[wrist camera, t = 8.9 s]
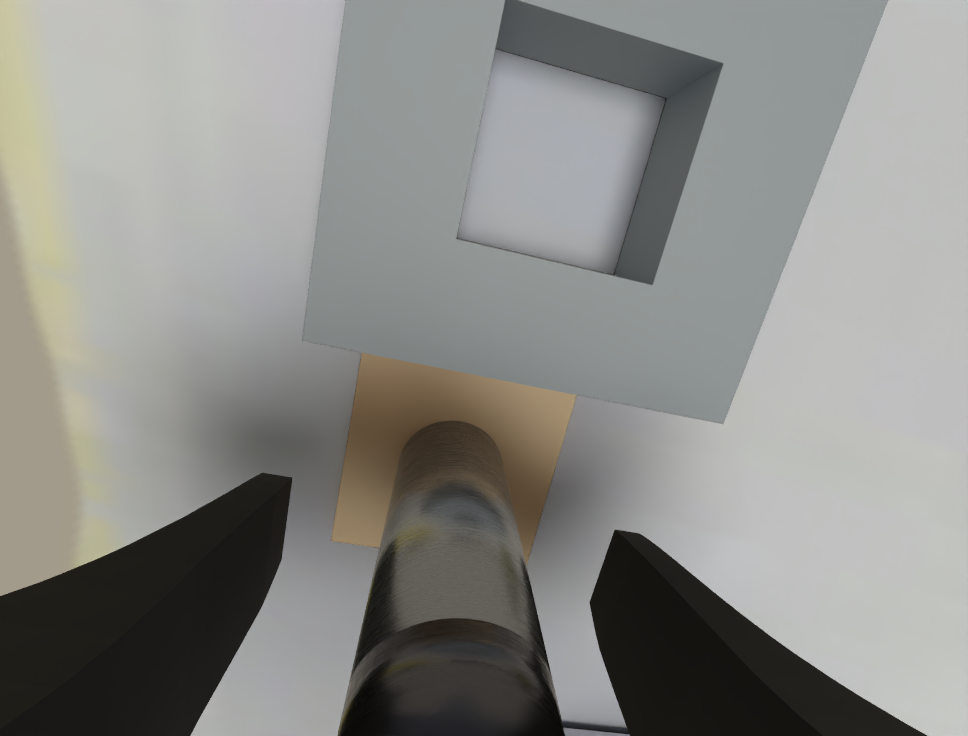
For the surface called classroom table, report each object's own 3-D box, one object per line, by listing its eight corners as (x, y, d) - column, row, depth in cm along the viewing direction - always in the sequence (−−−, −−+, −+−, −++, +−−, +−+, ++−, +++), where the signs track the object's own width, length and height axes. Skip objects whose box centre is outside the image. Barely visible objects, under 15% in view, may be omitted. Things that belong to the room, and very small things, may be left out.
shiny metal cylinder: (499, 513, 14) (558, 852, 6) (398, 514, 14) (333, 866, 6) (505, 421, 13) (581, 681, 6) (398, 419, 13) (322, 690, 5)
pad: (523, 560, 15) (525, 569, 15) (334, 532, 14) (331, 541, 14) (574, 387, 14) (577, 391, 13) (365, 345, 13) (362, 349, 12)
